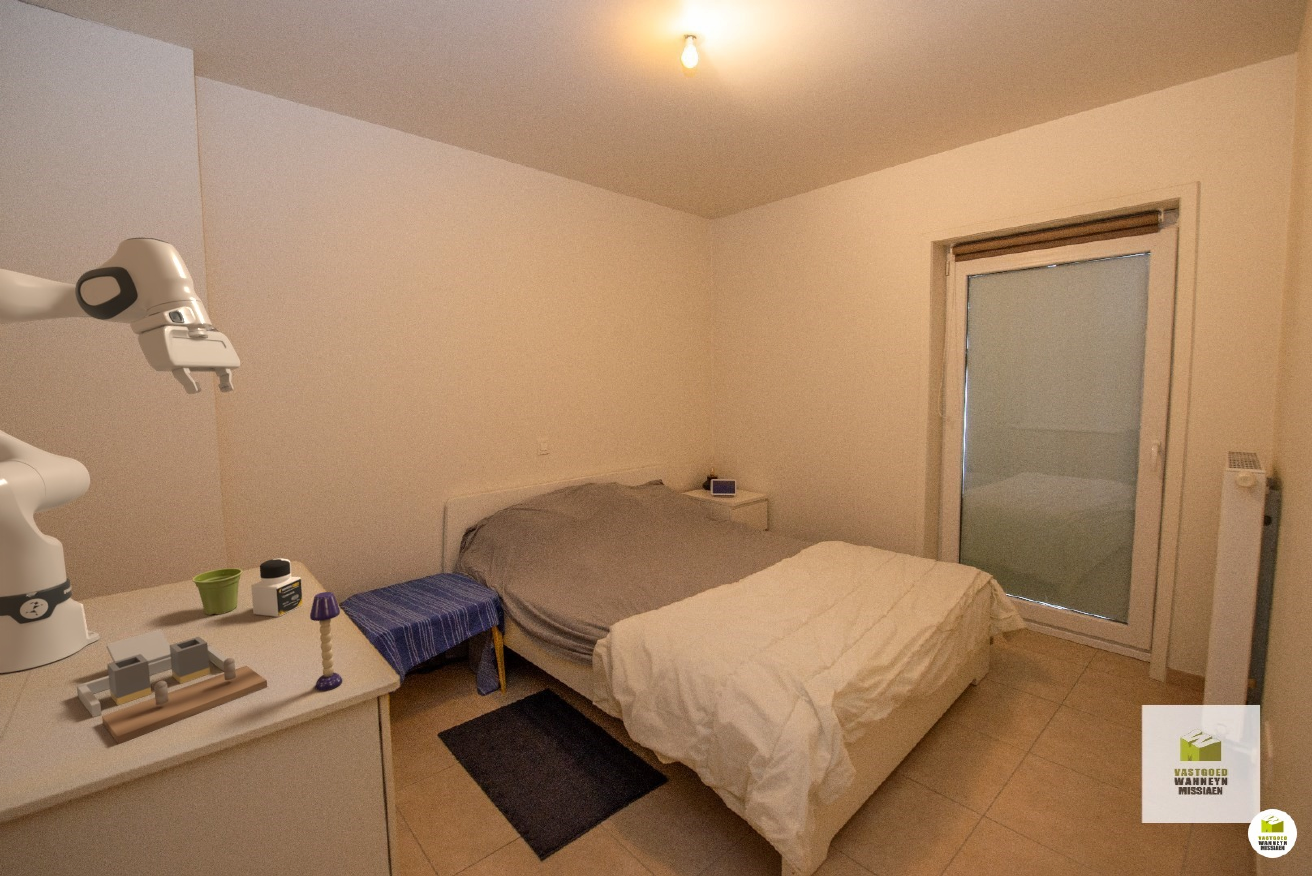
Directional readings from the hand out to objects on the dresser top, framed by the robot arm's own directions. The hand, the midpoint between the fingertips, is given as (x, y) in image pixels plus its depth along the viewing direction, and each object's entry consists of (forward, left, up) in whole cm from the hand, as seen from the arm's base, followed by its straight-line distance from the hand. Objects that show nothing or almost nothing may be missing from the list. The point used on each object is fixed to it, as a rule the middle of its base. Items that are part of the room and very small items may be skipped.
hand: (212, 392), depth 112 cm
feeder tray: (0, -13, -52) cm, 54 cm away
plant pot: (-26, +6, -52) cm, 58 cm away
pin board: (+17, -12, -52) cm, 56 cm away
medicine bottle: (-15, +14, -52) cm, 56 cm away
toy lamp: (+29, +5, -52) cm, 60 cm away
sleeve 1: (+5, -17, -52) cm, 55 cm away
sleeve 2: (+5, -8, -52) cm, 53 cm away
